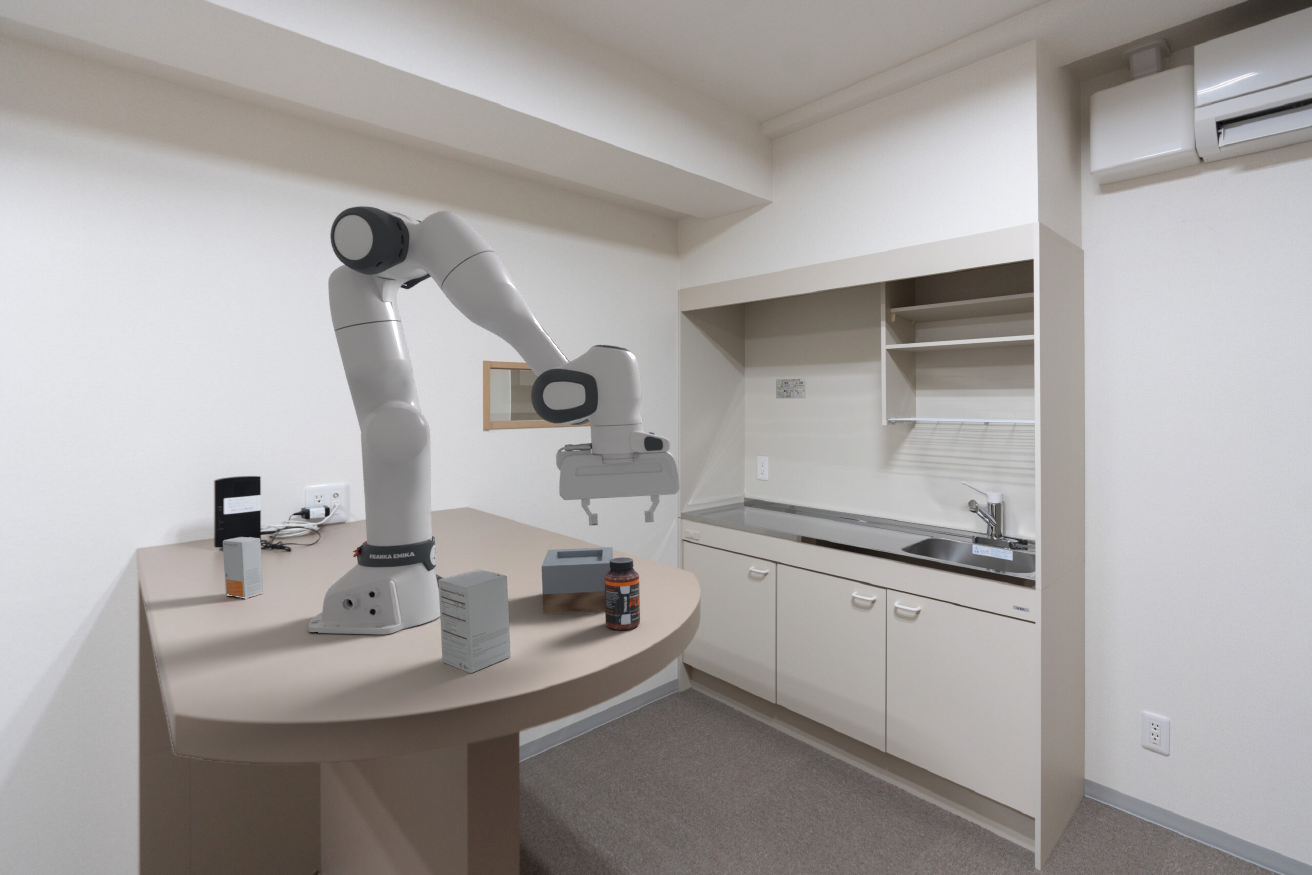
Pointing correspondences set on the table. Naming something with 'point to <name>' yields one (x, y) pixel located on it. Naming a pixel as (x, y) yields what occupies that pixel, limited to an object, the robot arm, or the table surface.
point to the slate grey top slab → (575, 570)
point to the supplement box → (474, 619)
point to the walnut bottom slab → (574, 602)
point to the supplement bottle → (622, 595)
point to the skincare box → (243, 566)
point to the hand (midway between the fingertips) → (621, 523)
